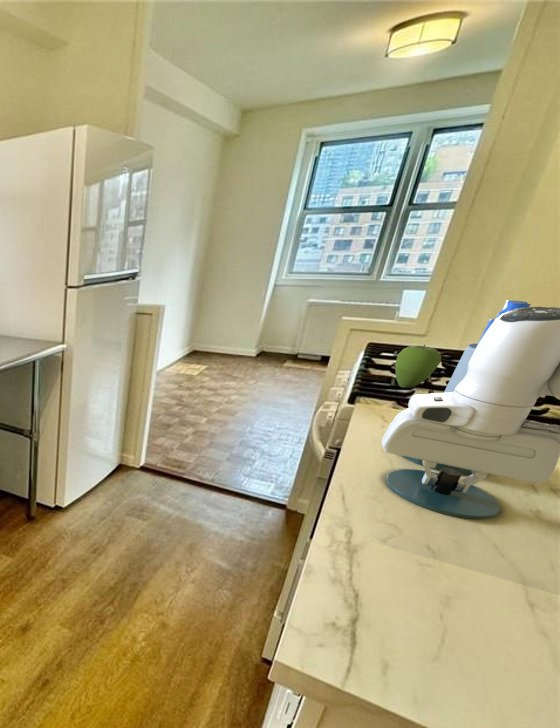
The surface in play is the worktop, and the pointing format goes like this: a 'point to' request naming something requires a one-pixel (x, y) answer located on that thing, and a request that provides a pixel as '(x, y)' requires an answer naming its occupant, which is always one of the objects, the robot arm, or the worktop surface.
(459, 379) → the spray bottle
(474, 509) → the lid
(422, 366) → the green mango
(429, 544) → the worktop surface
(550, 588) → the worktop surface
